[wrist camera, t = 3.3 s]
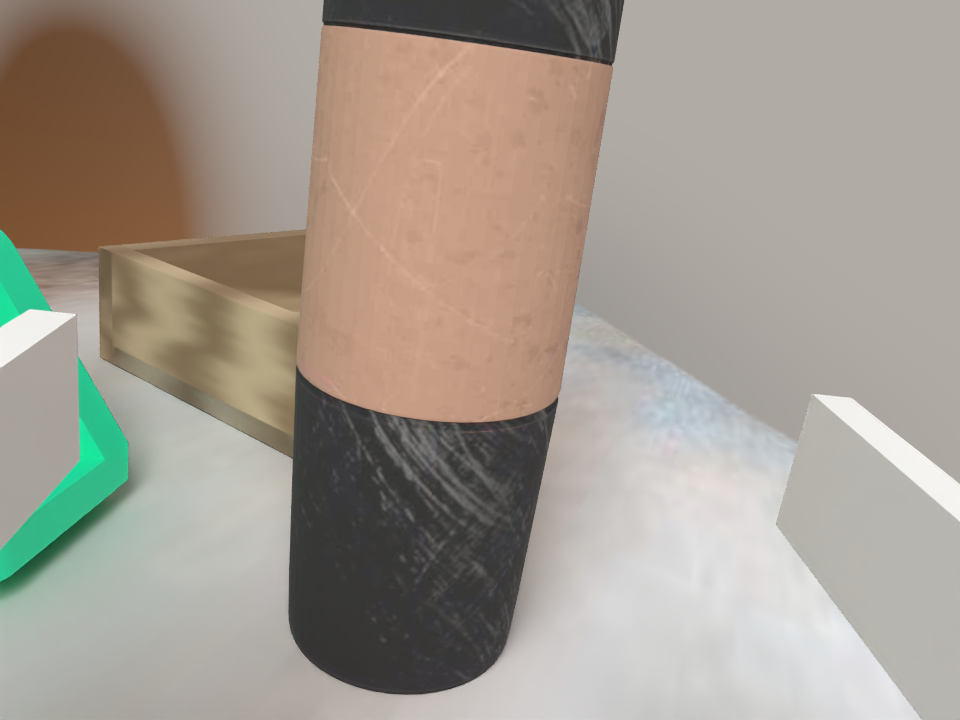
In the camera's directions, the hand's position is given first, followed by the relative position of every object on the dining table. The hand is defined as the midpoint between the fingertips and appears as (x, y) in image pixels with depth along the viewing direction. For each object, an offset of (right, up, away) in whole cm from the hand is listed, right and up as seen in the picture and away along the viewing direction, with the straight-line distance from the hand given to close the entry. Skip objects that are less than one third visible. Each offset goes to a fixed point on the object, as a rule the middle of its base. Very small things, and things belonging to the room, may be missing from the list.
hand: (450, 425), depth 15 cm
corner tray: (-7, 0, +32) cm, 33 cm away
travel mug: (-2, -7, +12) cm, 15 cm away
